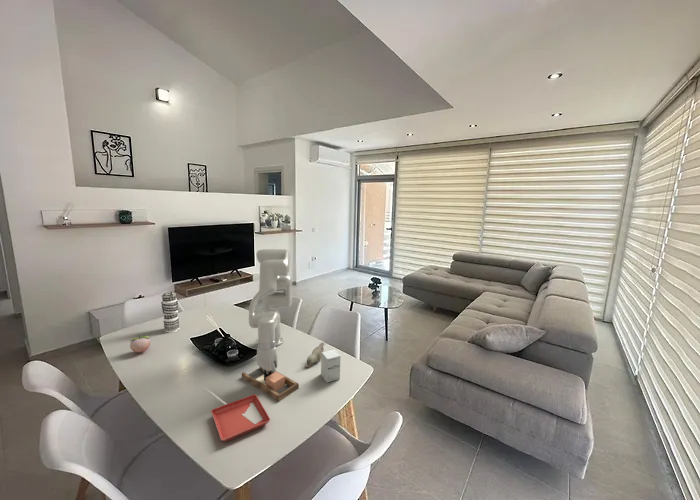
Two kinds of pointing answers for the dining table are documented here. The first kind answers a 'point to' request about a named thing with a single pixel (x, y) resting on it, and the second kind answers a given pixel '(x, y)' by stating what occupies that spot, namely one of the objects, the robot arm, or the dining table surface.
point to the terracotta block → (275, 381)
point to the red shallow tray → (237, 418)
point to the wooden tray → (258, 381)
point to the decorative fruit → (140, 344)
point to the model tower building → (170, 312)
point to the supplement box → (330, 365)
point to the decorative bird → (315, 355)
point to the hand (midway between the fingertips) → (267, 379)
